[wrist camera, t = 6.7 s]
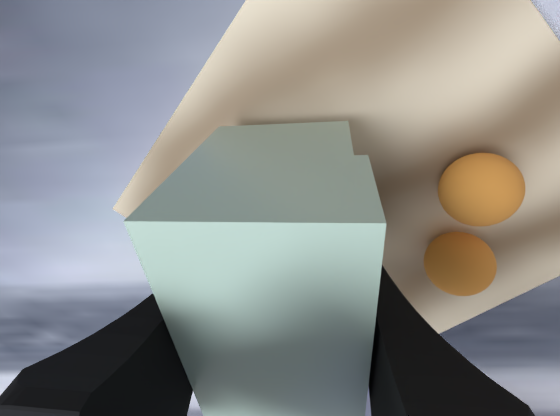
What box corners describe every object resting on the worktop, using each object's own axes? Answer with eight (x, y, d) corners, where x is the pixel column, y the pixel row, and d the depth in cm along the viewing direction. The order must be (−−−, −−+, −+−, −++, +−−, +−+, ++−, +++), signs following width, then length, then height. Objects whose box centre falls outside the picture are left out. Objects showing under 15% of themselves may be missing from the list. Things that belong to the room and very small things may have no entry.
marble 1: (516, 172, 14) (560, 208, 11) (455, 213, 15) (481, 253, 13) (476, 127, 13) (513, 154, 10) (415, 175, 14) (435, 209, 12)
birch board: (662, 204, 15) (683, 216, 14) (358, 359, 24) (359, 371, 23) (375, -191, 9) (380, -211, 9) (122, 199, 18) (112, 208, 17)
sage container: (350, 302, 17) (360, 454, 11) (251, 297, 18) (212, 435, 12) (358, 120, 12) (386, 223, 6) (218, 126, 13) (123, 221, 7)
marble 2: (492, 243, 16) (524, 287, 13) (440, 274, 17) (460, 319, 15) (456, 208, 15) (483, 248, 12) (404, 243, 16) (419, 285, 14)
